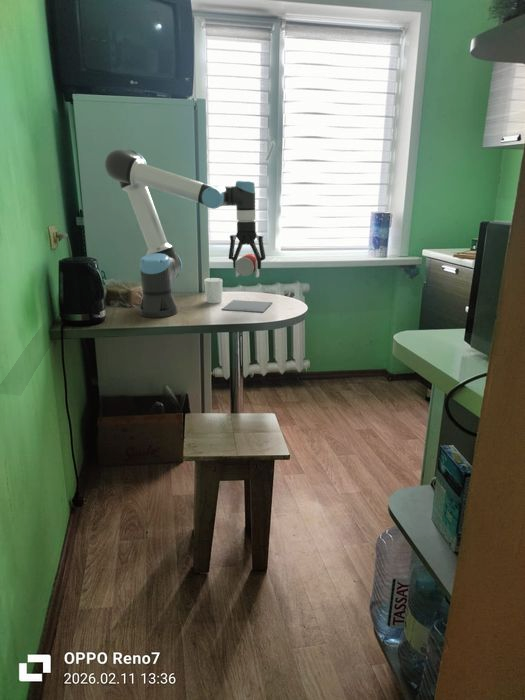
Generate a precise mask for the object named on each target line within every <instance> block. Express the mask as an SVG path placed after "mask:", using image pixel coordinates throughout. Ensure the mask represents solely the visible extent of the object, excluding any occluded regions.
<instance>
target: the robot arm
mask: <svg viewBox="0 0 525 700" xmlns="http://www.w3.org/2000/svg"><path fill="white" fill-rule="evenodd" d="M104 169H105V172H106V174H108V176H109V177H110V178H111V179H112V180H114V181H117V182H118V183H119V185H120V188H121V190H122V191H124V192H126V193H127V195H128V198H129V200H130V201H129V202H130V204H131V207H132V209H133V212H134V214H135V217H136V219H137V223H138V226H139V228H140V231H141V233H142V236H143V239H144V242H145V244H146V248H147V249H148V250H147V252H146V254H145V255H143V256H142V257H141V258H140V259H139V269H140V271H139V272H140V279H141V280H140V281H141V289H142V290H141V291H142V298H141V301H140V302H141V303H140V306H139V315H140V316H142V317H144V318H166V317H170V316H173V315H176V314H177V313H178V306H177V304H176V301H175V298H174V296H173V292H172V290H173V289H172V280H175V279H176V278H177V277H179V276H180V273H181V271H182V269H183V263H182V262H183V261H182V259H181V258H180V256H179V254H177V253H176V252H175V249H174V246H173V245H172V244H171V243H169V242H168V240H167V237H166V235H165V231H164V229H163V226H162V223H161V219H160V218H159V214H158V212H157V209H156V207H155V203H154V201H153V198H152V196H151V193H150V190H149V188H151V189H154V190H158V191H160V192H162V193H163V192H164V193H166V194H170V195H173V196H176V197H179V198H183V199H185V200H189V201H192V202H195V203H198V204H200V205H204V206H205V207H206V208H209V209H212V210H214V209H215V210H216V209H219V208H220V207H227V206H231V207H233V206H234V207H236V220H237V222H236V229H237V230H236V231H237V232H236V234H230V235H229V239H230V245H229V250H228V251H229V253H228V259H229V260H231V261H232V263H233V265H232V266H233V269H235V264H236V262H237V260H238V259H239V256H240V253H241V251H242V250H241V249H242V248H243V246H244V245H250V247H251V249H252V252H253V255H255V257H256V259H257V261H256V262H255V266H256V271H255V278H259V277H260V270H261V269H262V262H263V261H264V260H265V259H266V253H265V247H264V235H262V234H257V232H256V231H257V230H256V221H255V220H256V191H255V190H256V188H255V181H253V180H237V181H235V184H234V185H232V186H230V185H229V186H226V185H223V186H222V185H220V186H219V185H211V184H208V183H203V182H201V181H199V180H195V179H193V178H192V179H191V178H189V177H186V176H184V175H183V176H182V175H179V174H177V173H174V172H170V171H167V170H163V169H162V168H158V167H154V166H152V165H149V164H148V163H147V161H146V159H145V158H144V157H143V155H142V154H140V153H139V152H137V151H134V150H130V149H128V150H126V149H114V150H112V151H110V152H109V153H108V154H107V156H106V157H105V161H104ZM236 240H238V244H237V247H236V250H235V244H236ZM255 240H257V241H258V247H257V244H256V242H255ZM258 248H259V250H258ZM234 252H235V253H234ZM259 252H260V253H259ZM239 276H240V274H238V273H237V271H236V270H235V277H236V278H238V277H239Z"/></svg>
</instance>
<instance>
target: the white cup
mask: <svg viewBox="0 0 525 700" xmlns="http://www.w3.org/2000/svg"><path fill="white" fill-rule="evenodd" d="M203 281H204V291H205V298H206V303H207V304H220V303H222V301H223V299H222V298H223V279H222V278H219V277H211V278H205V279H204V280H203Z"/></svg>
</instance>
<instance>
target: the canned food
mask: <svg viewBox="0 0 525 700" xmlns="http://www.w3.org/2000/svg"><path fill="white" fill-rule="evenodd" d="M256 261H257V259H256V257H255V254H254V253H248V254H245V255H244V256H242V257H240V258H237V262H236V264H235V268H234V269H235V272H236V271H237V273H238V274H239V276H242V277H248V276H250V275H252V274H253V273H256V266H255V262H256Z"/></svg>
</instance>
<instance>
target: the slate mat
mask: <svg viewBox="0 0 525 700" xmlns="http://www.w3.org/2000/svg"><path fill="white" fill-rule="evenodd" d="M272 304H273V301H258V300H257V301H256V300H242V299H241V300H239V299H237V300H236V299H232V300H231V301H230V302H229V303H227V305H225V306H223V307H222V308H221V311H230V312H248V313H261V314H263V313H265V312H266V311H267V310H268V309H269V307H271V305H272Z"/></svg>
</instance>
